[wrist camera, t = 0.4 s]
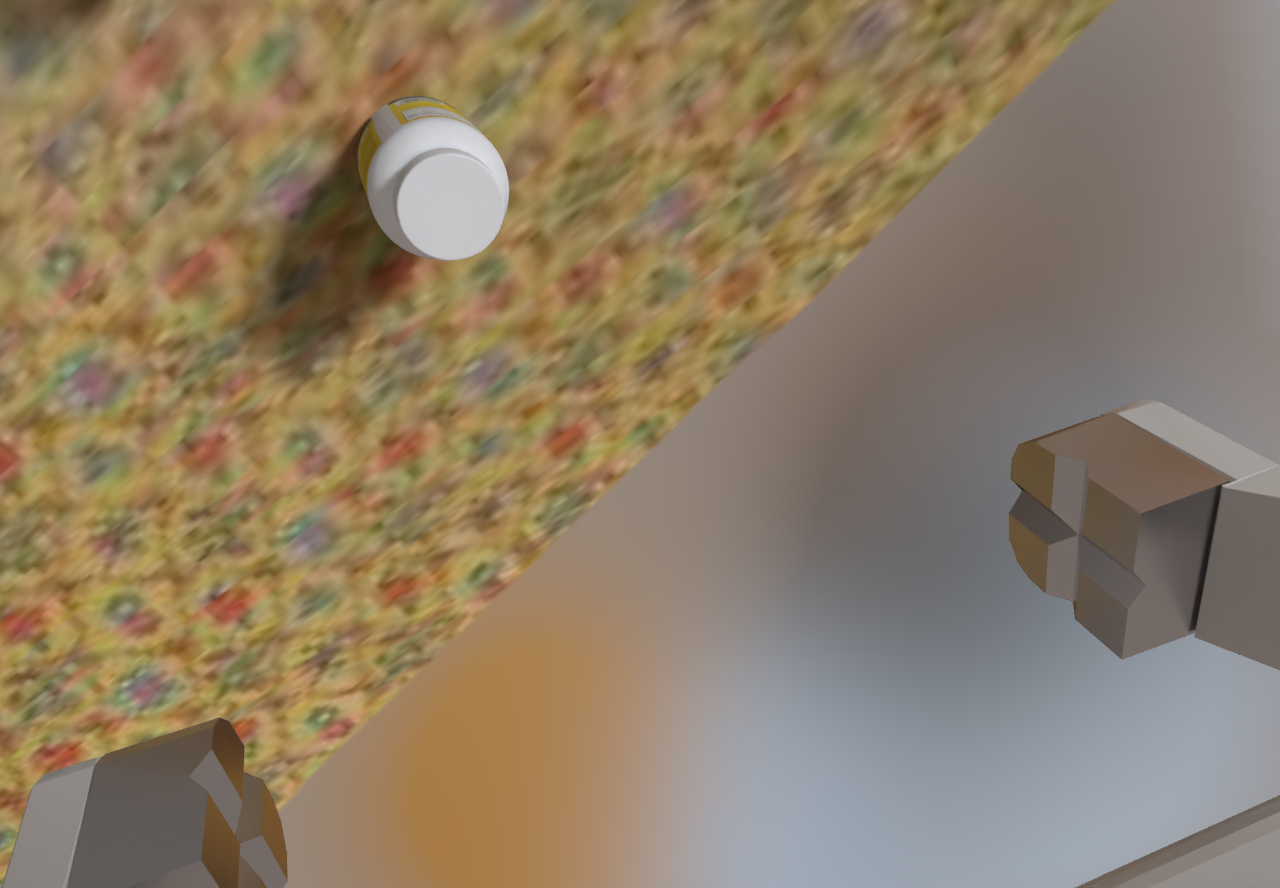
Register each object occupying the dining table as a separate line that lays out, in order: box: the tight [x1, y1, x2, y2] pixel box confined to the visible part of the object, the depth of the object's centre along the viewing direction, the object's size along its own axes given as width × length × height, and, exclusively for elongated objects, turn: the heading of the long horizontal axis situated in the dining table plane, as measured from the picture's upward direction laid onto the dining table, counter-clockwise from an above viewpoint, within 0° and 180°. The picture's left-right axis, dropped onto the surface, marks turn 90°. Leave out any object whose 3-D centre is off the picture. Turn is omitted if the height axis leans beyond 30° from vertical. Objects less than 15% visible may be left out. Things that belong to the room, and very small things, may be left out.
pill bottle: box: [357, 96, 509, 261], centre depth 46 cm, size 6×6×12 cm
